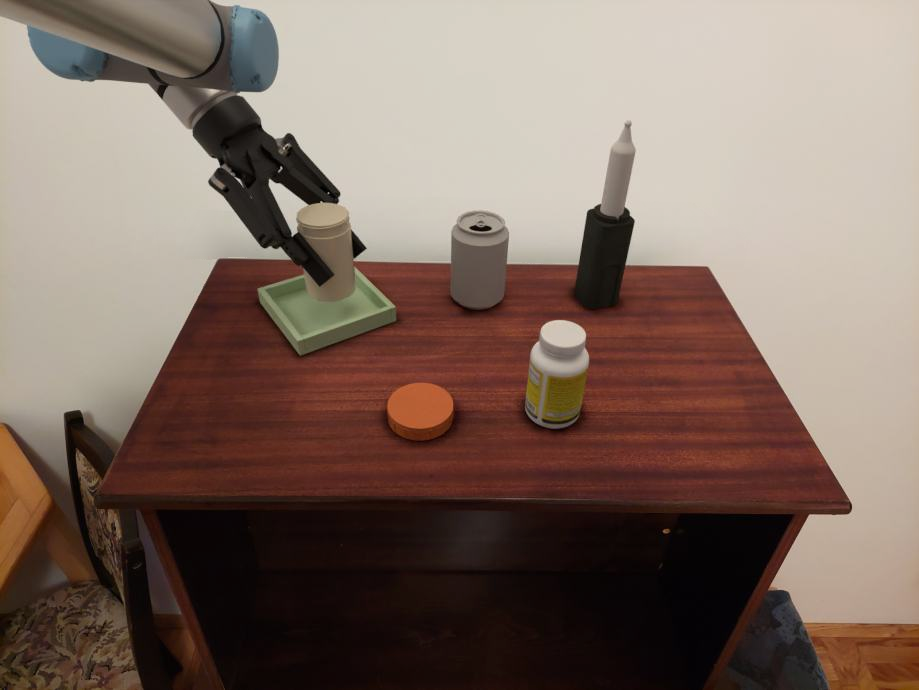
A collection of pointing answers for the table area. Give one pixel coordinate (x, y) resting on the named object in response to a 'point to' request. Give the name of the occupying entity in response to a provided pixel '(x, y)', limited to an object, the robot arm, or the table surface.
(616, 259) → the candle
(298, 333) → the tray
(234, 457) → the table surface
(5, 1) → the robot arm
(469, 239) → the can
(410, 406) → the lid
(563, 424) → the pill bottle
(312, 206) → the jar
